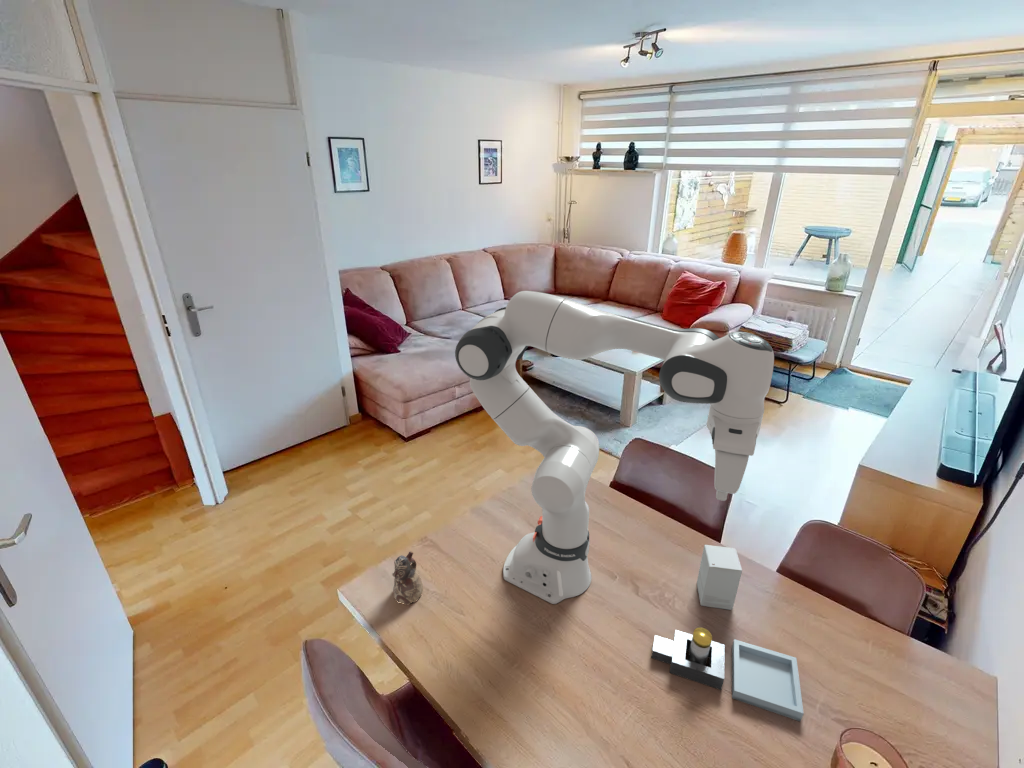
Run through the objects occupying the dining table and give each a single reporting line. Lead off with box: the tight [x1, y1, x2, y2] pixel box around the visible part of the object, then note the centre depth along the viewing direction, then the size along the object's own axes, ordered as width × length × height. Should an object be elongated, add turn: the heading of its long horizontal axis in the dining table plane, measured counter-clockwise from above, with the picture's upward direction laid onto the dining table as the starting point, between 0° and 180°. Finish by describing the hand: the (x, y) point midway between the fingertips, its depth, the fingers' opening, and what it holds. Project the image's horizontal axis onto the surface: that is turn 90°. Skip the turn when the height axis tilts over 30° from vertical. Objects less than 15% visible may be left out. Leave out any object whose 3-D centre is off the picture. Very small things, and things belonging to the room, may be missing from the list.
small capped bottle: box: [687, 627, 713, 666], centre depth 102 cm, size 4×4×9 cm
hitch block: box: [651, 629, 726, 691], centre depth 104 cm, size 14×8×4 cm, turn 68°
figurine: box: [391, 550, 424, 604], centre depth 119 cm, size 7×7×12 cm
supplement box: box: [696, 544, 743, 611], centre depth 117 cm, size 7×7×13 cm
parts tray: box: [731, 638, 804, 722], centre depth 100 cm, size 12×12×2 cm
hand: (721, 483), depth 95 cm, fingers open, 8 cm apart
